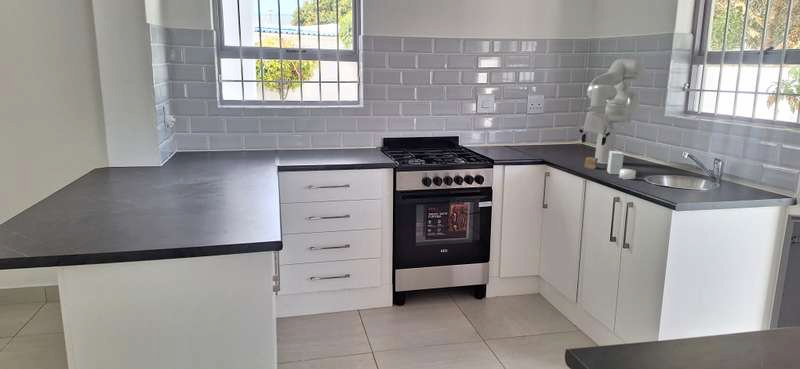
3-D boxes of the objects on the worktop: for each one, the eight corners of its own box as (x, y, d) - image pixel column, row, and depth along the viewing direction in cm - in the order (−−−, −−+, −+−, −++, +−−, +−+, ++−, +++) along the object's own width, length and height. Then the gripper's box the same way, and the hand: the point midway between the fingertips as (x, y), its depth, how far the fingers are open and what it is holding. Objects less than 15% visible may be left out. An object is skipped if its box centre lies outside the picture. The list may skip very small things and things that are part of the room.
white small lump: (620, 176, 271) (621, 168, 270) (636, 178, 267) (637, 170, 267) (617, 178, 265) (618, 170, 264) (633, 180, 262) (634, 172, 261)
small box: (621, 175, 274) (624, 153, 271) (609, 174, 275) (612, 152, 272) (618, 172, 281) (621, 151, 279) (606, 171, 282) (609, 150, 280)
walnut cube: (587, 166, 293) (588, 157, 292) (596, 167, 290) (598, 158, 289) (584, 167, 289) (585, 158, 288) (594, 169, 286) (595, 159, 285)
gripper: (578, 108, 285) (574, 142, 288) (613, 111, 275) (608, 146, 279) (582, 108, 291) (578, 141, 294) (617, 111, 282) (612, 145, 285)
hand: (593, 143), depth 286 cm, fingers open, 9 cm apart
